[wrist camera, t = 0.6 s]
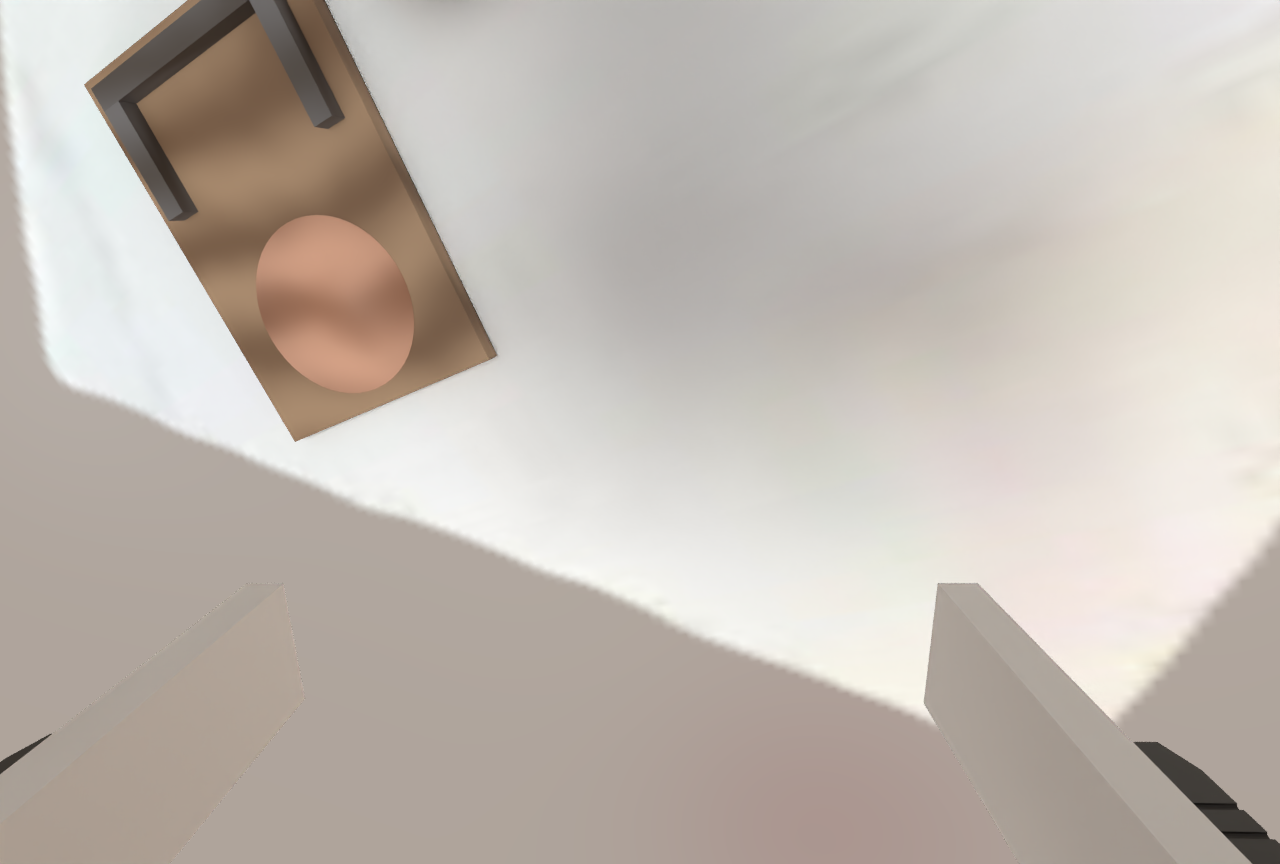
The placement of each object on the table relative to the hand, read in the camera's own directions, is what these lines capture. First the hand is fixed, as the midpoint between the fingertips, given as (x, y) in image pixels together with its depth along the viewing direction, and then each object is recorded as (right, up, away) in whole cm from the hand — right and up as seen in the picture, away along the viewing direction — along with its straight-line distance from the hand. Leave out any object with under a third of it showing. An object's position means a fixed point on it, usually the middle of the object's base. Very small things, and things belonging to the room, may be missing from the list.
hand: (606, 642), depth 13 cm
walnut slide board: (-18, +16, +23) cm, 33 cm away
